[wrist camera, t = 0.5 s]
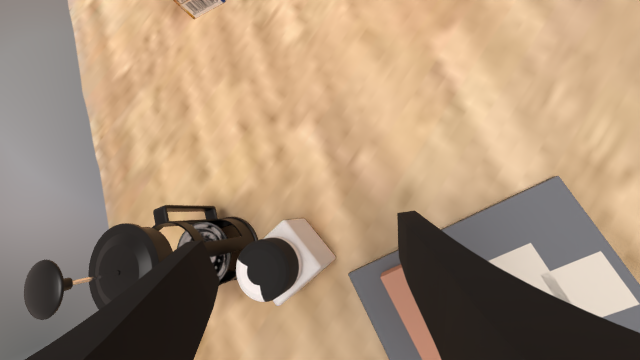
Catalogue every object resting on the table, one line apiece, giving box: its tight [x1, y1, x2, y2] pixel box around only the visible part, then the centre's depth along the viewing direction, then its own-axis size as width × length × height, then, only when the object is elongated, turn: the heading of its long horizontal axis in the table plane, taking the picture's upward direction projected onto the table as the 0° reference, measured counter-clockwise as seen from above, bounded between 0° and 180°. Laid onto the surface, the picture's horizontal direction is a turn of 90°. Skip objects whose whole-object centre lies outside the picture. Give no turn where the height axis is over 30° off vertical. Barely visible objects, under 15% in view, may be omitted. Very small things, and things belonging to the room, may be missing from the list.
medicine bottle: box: [236, 218, 335, 306], centre depth 32 cm, size 7×7×12 cm
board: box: [348, 176, 640, 360], centre depth 30 cm, size 18×26×1 cm
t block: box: [380, 264, 441, 360], centre depth 30 cm, size 10×9×2 cm
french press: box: [24, 205, 258, 320], centre depth 30 cm, size 12×9×23 cm
